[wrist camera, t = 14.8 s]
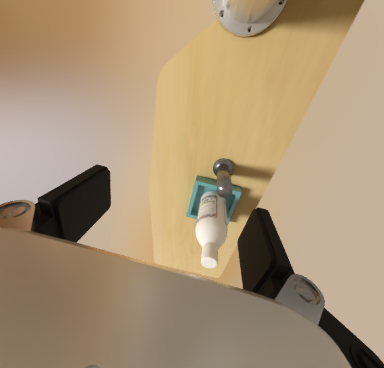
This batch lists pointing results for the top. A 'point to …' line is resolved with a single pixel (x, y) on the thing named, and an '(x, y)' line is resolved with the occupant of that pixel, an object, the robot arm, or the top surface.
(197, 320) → the robot arm
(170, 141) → the top surface
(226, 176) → the post
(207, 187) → the holder tray
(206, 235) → the bath foam
